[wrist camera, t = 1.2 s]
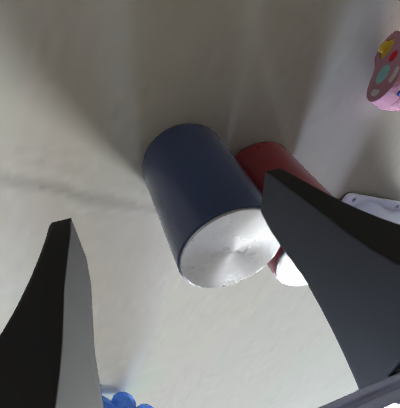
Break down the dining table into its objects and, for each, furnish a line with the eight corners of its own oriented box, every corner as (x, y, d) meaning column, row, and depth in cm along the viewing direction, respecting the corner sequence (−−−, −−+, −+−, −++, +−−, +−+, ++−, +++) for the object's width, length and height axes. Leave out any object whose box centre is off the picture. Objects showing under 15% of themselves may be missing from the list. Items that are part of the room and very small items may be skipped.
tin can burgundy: (303, 149, 27) (380, 221, 21) (267, 207, 30) (325, 286, 24) (242, 134, 24) (310, 213, 18) (209, 200, 27) (258, 288, 21)
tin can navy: (237, 133, 24) (305, 213, 18) (205, 200, 27) (253, 288, 21) (157, 114, 21) (206, 201, 15) (131, 191, 24) (162, 290, 18)
